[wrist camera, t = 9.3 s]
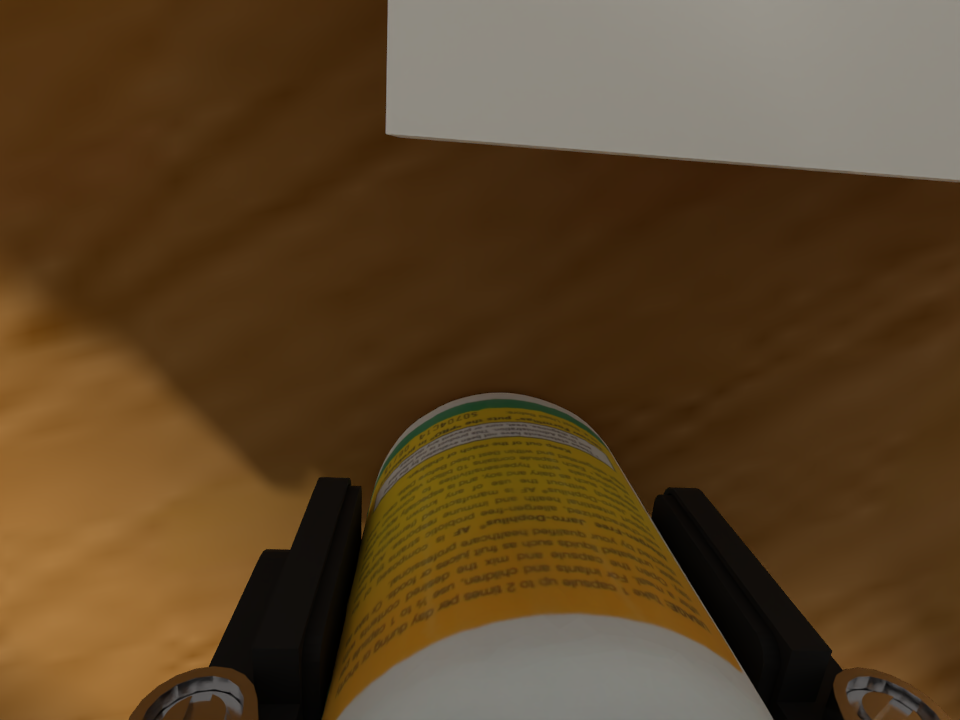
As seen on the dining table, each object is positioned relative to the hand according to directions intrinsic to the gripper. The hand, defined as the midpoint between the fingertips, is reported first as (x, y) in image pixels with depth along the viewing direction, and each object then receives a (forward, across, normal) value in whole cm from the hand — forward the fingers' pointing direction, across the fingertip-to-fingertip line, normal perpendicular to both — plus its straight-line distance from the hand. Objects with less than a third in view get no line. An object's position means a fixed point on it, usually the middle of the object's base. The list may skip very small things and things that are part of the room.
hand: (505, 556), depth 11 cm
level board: (-3, -5, -17) cm, 18 cm away
